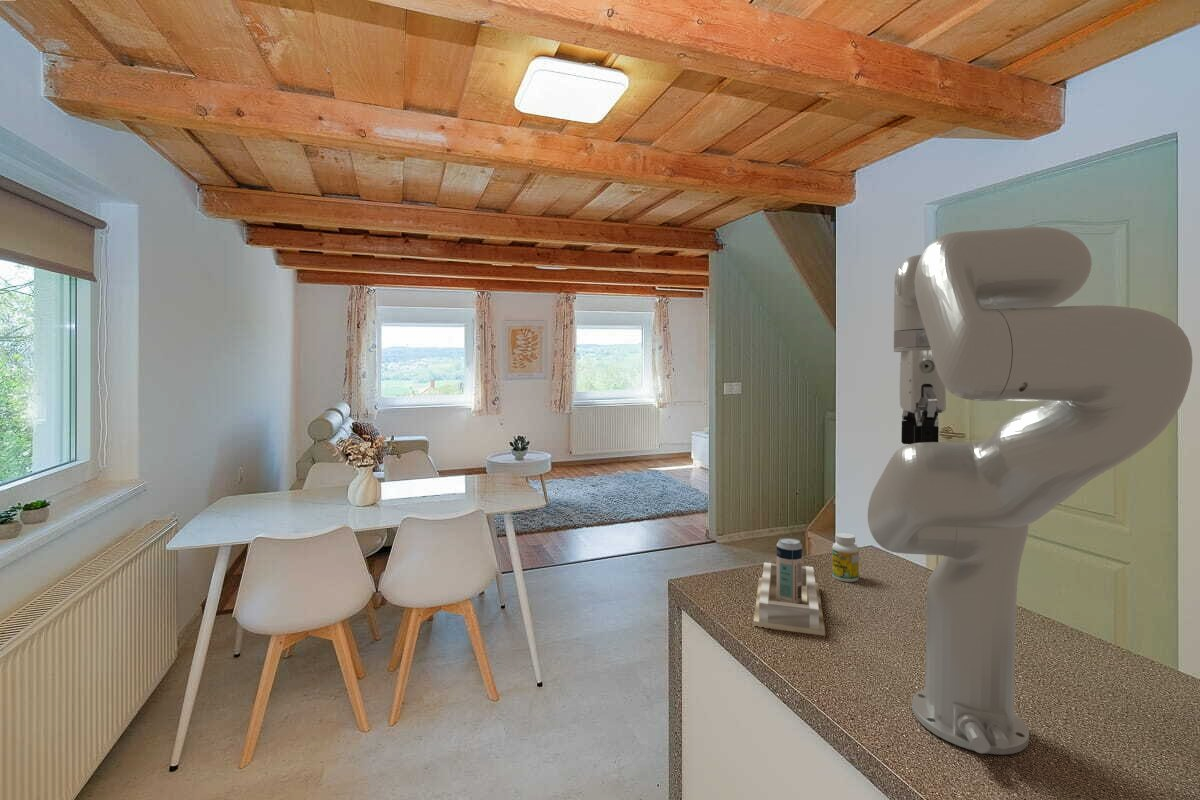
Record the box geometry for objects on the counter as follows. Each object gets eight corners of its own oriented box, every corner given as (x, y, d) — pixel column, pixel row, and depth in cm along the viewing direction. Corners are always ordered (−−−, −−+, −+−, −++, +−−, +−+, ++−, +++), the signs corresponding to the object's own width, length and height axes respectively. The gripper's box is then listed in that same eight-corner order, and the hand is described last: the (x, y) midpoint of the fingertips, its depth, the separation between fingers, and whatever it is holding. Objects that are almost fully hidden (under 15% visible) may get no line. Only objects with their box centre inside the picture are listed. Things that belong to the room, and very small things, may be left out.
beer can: (798, 596, 110) (798, 537, 109) (805, 606, 105) (805, 544, 104) (773, 595, 110) (773, 537, 110) (779, 606, 105) (779, 544, 105)
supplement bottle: (863, 579, 121) (864, 536, 121) (848, 584, 118) (849, 540, 118) (841, 571, 126) (842, 530, 125) (826, 576, 123) (827, 534, 122)
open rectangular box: (824, 635, 95) (825, 610, 95) (753, 626, 99) (753, 602, 99) (818, 588, 116) (818, 567, 116) (759, 582, 120) (759, 561, 120)
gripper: (963, 338, 79) (961, 456, 80) (933, 344, 95) (931, 442, 96) (904, 340, 82) (903, 454, 82) (885, 345, 98) (884, 440, 99)
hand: (918, 447), depth 89 cm, fingers open, 9 cm apart
